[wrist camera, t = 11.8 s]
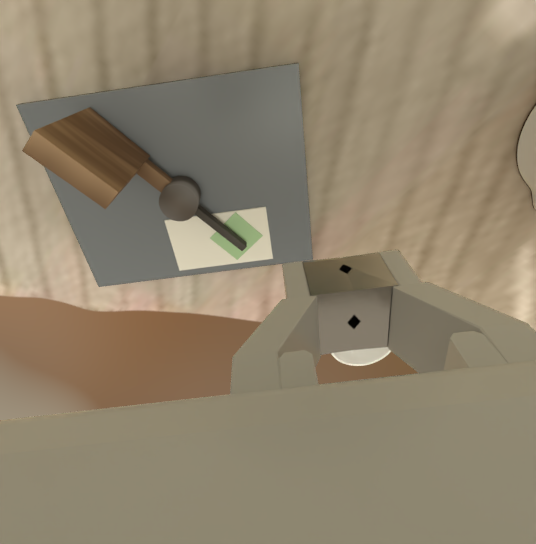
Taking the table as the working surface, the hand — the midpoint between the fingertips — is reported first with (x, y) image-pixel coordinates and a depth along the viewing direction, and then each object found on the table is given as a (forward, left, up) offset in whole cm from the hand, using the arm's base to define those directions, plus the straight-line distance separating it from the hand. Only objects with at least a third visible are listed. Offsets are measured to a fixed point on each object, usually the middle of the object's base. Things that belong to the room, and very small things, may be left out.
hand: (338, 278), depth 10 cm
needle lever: (+10, +10, -32) cm, 35 cm away
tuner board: (+9, +10, -33) cm, 36 cm away
